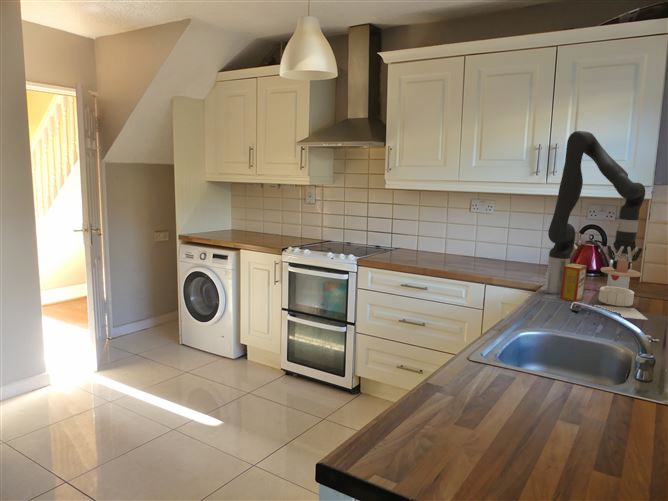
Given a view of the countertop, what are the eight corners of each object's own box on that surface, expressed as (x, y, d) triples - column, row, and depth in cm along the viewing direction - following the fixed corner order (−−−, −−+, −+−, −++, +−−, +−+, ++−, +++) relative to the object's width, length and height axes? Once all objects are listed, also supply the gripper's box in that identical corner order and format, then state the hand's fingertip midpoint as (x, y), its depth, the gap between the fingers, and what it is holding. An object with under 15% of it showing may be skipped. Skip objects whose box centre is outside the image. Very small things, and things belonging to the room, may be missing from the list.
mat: (603, 316, 202) (604, 315, 202) (593, 306, 217) (593, 304, 217) (647, 321, 198) (648, 319, 198) (634, 309, 213) (634, 308, 213)
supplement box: (606, 292, 242) (610, 262, 239) (606, 288, 250) (610, 259, 247) (627, 295, 238) (632, 264, 235) (627, 291, 245) (631, 261, 243)
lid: (605, 274, 209) (607, 261, 208) (596, 267, 223) (598, 254, 222) (645, 278, 205) (647, 264, 204) (634, 270, 219) (636, 257, 218)
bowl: (603, 305, 218) (605, 292, 217) (595, 298, 231) (597, 285, 230) (636, 308, 216) (638, 295, 214) (626, 300, 228) (628, 287, 227)
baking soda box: (575, 302, 222) (579, 267, 219) (560, 299, 226) (564, 265, 223) (582, 299, 228) (587, 264, 226) (568, 296, 233) (572, 262, 230)
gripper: (610, 230, 209) (604, 269, 212) (648, 232, 205) (642, 273, 208) (605, 227, 216) (600, 266, 219) (642, 230, 212) (636, 269, 216)
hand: (620, 269), depth 214 cm, fingers closed on lid, 4 cm apart
